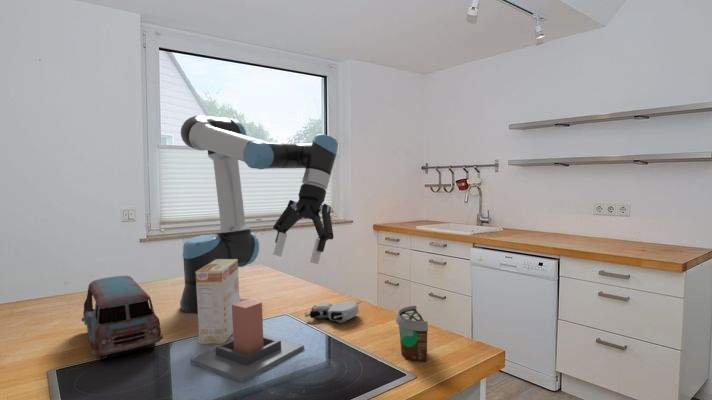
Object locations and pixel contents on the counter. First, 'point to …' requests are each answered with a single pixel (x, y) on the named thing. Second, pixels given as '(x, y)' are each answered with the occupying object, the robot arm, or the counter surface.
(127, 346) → the toy van
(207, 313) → the coffeecake box
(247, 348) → the salmon pink rectangular block
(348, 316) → the robot toy
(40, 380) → the counter surface
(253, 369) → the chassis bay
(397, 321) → the food container
